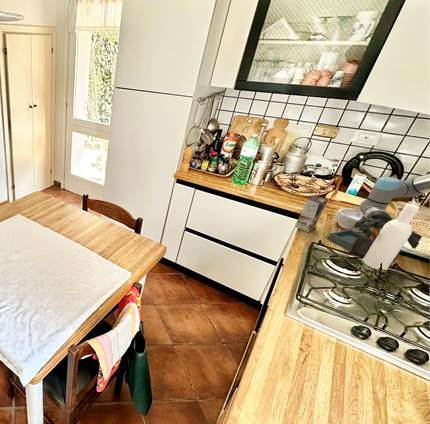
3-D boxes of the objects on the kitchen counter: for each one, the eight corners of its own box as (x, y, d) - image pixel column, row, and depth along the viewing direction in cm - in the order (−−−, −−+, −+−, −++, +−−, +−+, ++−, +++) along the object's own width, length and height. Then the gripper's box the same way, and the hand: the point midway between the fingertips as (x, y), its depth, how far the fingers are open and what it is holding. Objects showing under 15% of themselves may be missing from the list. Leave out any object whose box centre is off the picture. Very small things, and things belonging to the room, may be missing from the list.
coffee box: (308, 232, 153) (323, 204, 146) (294, 227, 158) (307, 199, 150) (315, 227, 158) (329, 199, 150) (301, 221, 163) (314, 194, 155)
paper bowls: (325, 223, 161) (332, 210, 158) (341, 218, 167) (348, 205, 163) (360, 238, 149) (369, 224, 146) (376, 231, 155) (384, 218, 151)
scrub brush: (388, 264, 132) (400, 247, 127) (391, 268, 129) (403, 251, 125) (347, 253, 138) (357, 236, 134) (348, 257, 136) (358, 240, 131)
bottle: (383, 276, 124) (427, 212, 110) (357, 267, 130) (397, 204, 115) (386, 268, 129) (429, 206, 114) (361, 259, 134) (400, 198, 120)
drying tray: (379, 249, 141) (382, 244, 140) (358, 254, 138) (361, 249, 136) (346, 234, 153) (349, 229, 151) (327, 238, 149) (330, 233, 148)
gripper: (411, 233, 133) (430, 258, 117) (338, 217, 144) (347, 238, 129) (421, 218, 129) (442, 242, 114) (346, 203, 141) (356, 223, 125)
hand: (392, 240), depth 121 cm, fingers open, 13 cm apart
